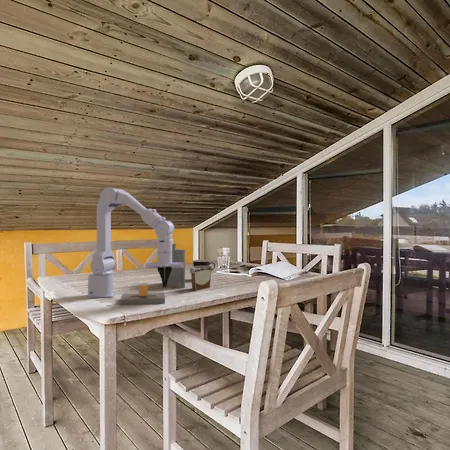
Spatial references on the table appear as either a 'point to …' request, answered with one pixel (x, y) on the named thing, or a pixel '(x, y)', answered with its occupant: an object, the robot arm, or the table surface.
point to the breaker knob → (142, 288)
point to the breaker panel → (142, 298)
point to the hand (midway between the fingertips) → (164, 286)
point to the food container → (200, 277)
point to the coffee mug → (202, 263)
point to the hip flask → (177, 269)
